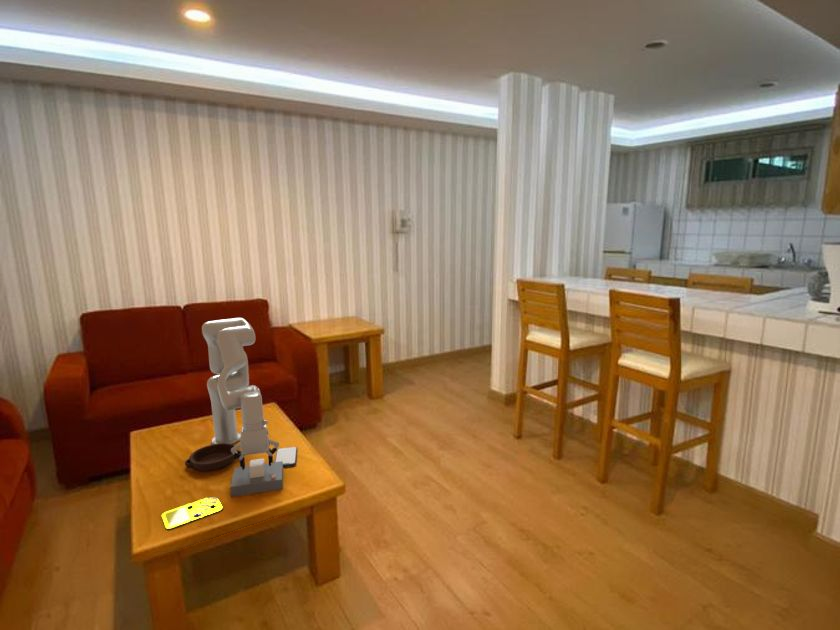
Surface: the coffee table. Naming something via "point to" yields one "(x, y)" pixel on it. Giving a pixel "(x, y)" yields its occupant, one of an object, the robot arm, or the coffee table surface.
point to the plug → (257, 468)
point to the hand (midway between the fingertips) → (257, 466)
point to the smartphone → (287, 456)
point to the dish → (211, 457)
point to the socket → (257, 480)
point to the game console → (191, 512)
